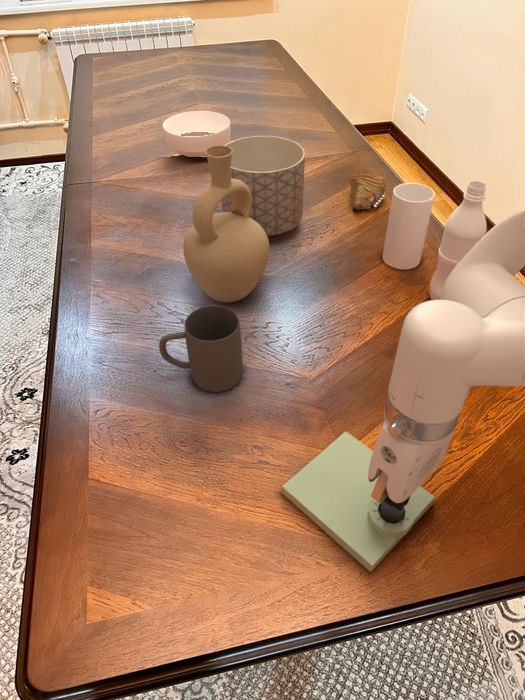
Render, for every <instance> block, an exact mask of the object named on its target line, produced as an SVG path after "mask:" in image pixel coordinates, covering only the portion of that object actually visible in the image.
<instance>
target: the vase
mask: <svg viewBox="0 0 525 700" xmlns="http://www.w3.org/2000/svg"><path fill="white" fill-rule="evenodd" d="M205 154H206V156H207V157H206V158H207V161H208V165H209V171H210V179H211V180H210V181H211V184H210V185H208V186H207V187H206V188H204V190H202V191H201V193H200V194H199V195H198V197H197V199H196V200H195V202H194V205H193V208H192V209H193V210H192V224H193V225H191V226H190V227H189V229H188V230H187V232H186V234H185V237H184V239H183V245H182V247H183V250H182V251H183V256H184V261H185V264H186V266H187V269H188V271H189V273H190V275H191V277H192V278H193V281H195V283H196V285H197V286H198V287H199V288H200V289H201V291H203V293H204V294H205V295H207V297H209V298H211V299H212V300H215V301H218V302H221V303H235V302H239V301H240V300H243V299H245V298H246V297H247V296H248V295H249V294H250V293H252V291H253V290H254V289H255V288H256V286H257V284H258V283H259V281H260V280H261V279H262V276H263V274H264V272H265V270H266V267H267V265H268V262H269V257H270V256H269V255H270V241H269V238H268V237H269V236H267V235H266V233H265V231H264V229H263V228H262V227H261V226H260V225H259V224H258V223H257V222H256V221H254V220H253V219H251V218H250V217H249V215H250V211H251V203H252V200H251V192H250V189H249V188H248V186H247V185H246V184H245V183H244V182H242V181H241V180H238V179H234V178H231V158H232V154H233V150H232V149H231V148H230V147H227V146H213V147H210V148H208V149H207V150H206V151H205ZM231 193H233V203H232V209H231V212H223V211H220V212H216V213H215V210H216V209H217V207H218V205H219V204H220V203H222V200H223V199H224V198H225V197H226V196H228V195H229V194H231Z"/></svg>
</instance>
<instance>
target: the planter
mask: <svg viewBox="0 0 525 700" xmlns="http://www.w3.org/2000/svg"><path fill="white" fill-rule="evenodd" d="M225 146H227V147H230V148H231V149H232V150H233V154H232V158H231V178H234V179H238V180H241V181H242V182H244V183H245V184H246V185H247V186H248V188H249V189H250V192H251V200H252V203H251V211H250V215H249V217H250V218H251V219H253V220H254V221H256V222H257V223H258V224H259V225H260V226H261V227H262V228H263V229H264V231H265V233H266V235H267V237H269V236H275V235H280V234H284V233H287V232H289V231H291V230H293V229H294V228H296V227H297V226H298V225H299V224H300V223H301V221H302V219H303V213H304V212H303V210H304V209H303V208H304V187H305V185H304V184H305V165H306V152H305V149H304V148H303V146H302V145H300V144H299V143H297V142H296V141H294V140H291V139H288V138H285V137H281V136H274V135H251V136H246V137H245V136H244V137H240V138H237V139H235V140H232V141H229V142H228V143H227V144H226V145H225ZM232 203H233V193H231V194H229V195H228V196H226V197H225V198H224V199H223V200H222V201H221V208H222V211H221V212H231V209H232Z"/></svg>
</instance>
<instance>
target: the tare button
mask: <svg viewBox="0 0 525 700" xmlns="http://www.w3.org/2000/svg"><path fill="white" fill-rule="evenodd" d="M404 510H405V508H404V507H403V509H402V510H401V511H398V510H397V509H396V508H395V507H392V506H390V505H388V504H387V503H386V502H385V501H384V500H383V501H382V503H381V507H380V514H381V516H382V518H383V519H384V520H386V521H388V522H391V523H395V522H398V521H400V520H401V519H402V516H403V513H404Z"/></svg>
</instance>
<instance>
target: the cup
mask: <svg viewBox="0 0 525 700" xmlns="http://www.w3.org/2000/svg"><path fill="white" fill-rule="evenodd" d="M435 196H436V194H435V190H433V189H432V188H431V187H430V186H428V185H425V184H423V183H419V182H418V183H417V182H405V183H400V184H398V185H395V187H394V188H393V191H392V196H391V202H390V208H389V214H388V221H387V226H386V227H387V228H386V233H385V239H384V246H383V250H382V260H383V262H384V264H386V265H387V266H389V267H391V268H393V269H398V270H410V269H414V268H416V267H418V266H420V263H421V259H422V255H423V251H424V246H425V242H426V237H427V232H428V228H429V224H430V219H431V215H432V210H433V205H434V200H435Z"/></svg>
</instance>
